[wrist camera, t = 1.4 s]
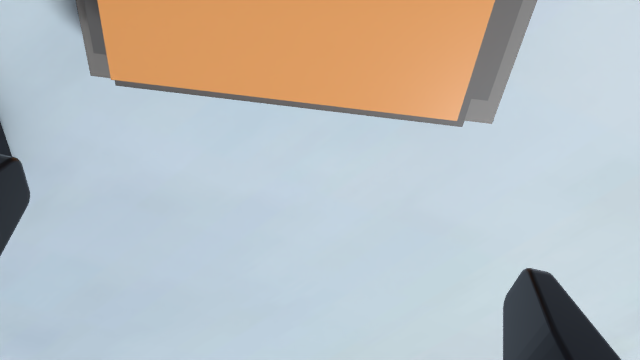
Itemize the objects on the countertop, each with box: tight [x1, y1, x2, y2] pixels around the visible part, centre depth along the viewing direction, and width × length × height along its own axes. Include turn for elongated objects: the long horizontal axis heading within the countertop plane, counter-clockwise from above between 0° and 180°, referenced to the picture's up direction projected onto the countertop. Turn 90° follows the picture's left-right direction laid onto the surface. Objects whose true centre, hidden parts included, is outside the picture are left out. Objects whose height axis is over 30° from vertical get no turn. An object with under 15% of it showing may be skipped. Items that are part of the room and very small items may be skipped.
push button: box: [97, 0, 495, 121], centre depth 16 cm, size 11×4×2 cm, turn 84°
